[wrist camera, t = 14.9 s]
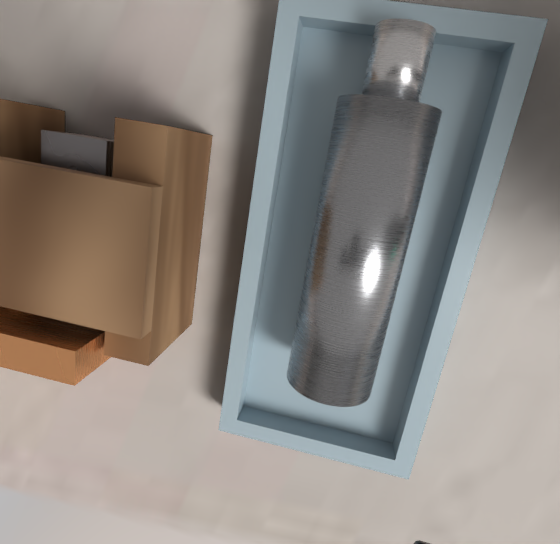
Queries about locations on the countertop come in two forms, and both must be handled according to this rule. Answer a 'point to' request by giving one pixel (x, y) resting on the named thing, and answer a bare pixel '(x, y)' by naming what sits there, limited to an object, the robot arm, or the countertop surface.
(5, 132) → the socket block
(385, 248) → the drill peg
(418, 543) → the robot arm
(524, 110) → the countertop surface
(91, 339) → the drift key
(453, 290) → the tray
